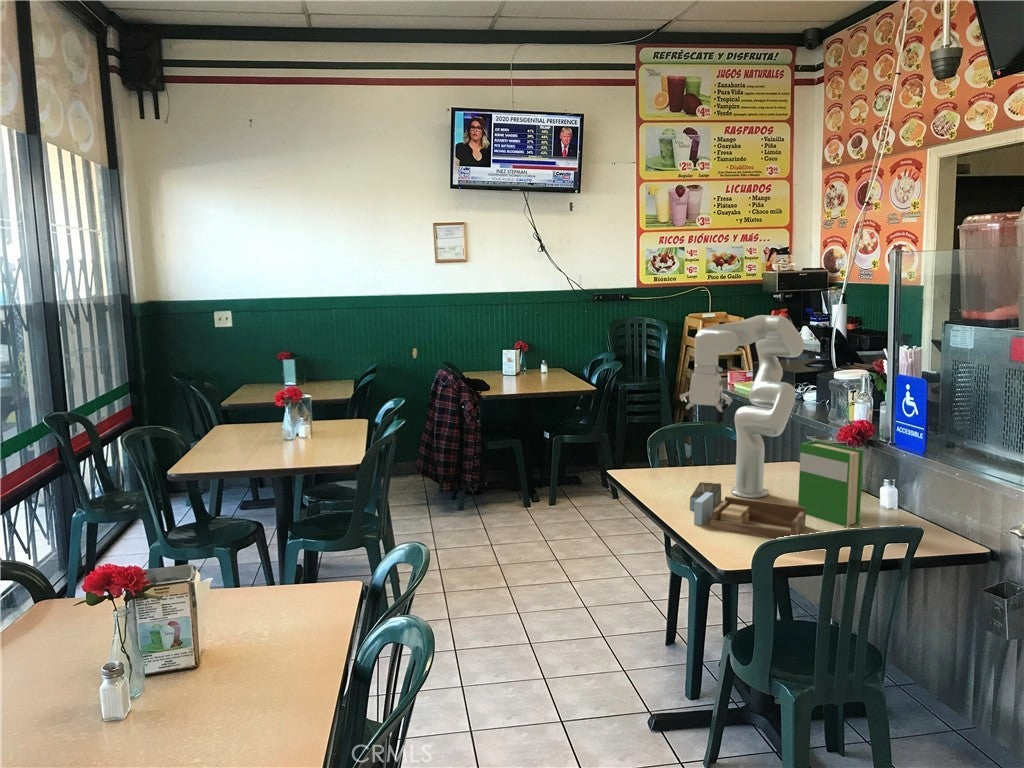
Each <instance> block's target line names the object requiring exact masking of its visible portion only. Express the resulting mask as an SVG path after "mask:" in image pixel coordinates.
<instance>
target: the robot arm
mask: <svg viewBox="0 0 1024 768" xmlns="http://www.w3.org/2000/svg"><path fill="white" fill-rule="evenodd" d="M753 343H755V348H756V353H757V356H758V363H759V366H758V370H757V373H756V375H755V377H754V380H753V382H752V385H751V387H750V390H749V393H748V399H749V402H750V403H751V404H752V405H744V406H740V407H739V408H738V409H737V410H736V411H735V414H734V425H735V431H736V456H735V486H733V487H732V488H730V492H731V493H730V494H732V495H733V496H736V495H737V496H736V497H740V498H745V499H746V498H749V499H759V498H763V497H766V496H768V493H769V491H768V489H766V488H764V477H765V476H764V474H765V473H764V472H765V471H764V470H765V469H764V468H765V442H764V440H763V438H762V436H766V437H774V438H775V437H778V436H781V434H783V432H784V430H785V428H786V427H787V423H788V422H789V421H788V420H789V419H790V416H791V413H792V411H793V408H794V406H795V402H796V390H795V389H796V388H794V386H793V385H792V384H790V382H789V383H788V382H784V381H782V378H783V375H784V372H783V371H784V370H783V367H782V365H781V363H780V361H779V360H778V357H783V358H797V357H800V355H801V354H802V353H803V352H804V348H805V343H804V339H803V337H802V335H801V333H800V332H799V330H797V328H796V327H795V325H794V324H793V322H792V321H791V320H789V319H788V318H787V317H785V316H782V315H771V314H770V315H769V314H767V315H765V314H760V315H754V316H752V317H749V318H746V319H743V320H740V321H734V322H728V323H727V322H726V323H721V324H715V325H709V326H706V327H704V328H701V329H700V330H699V331H698V332H697V333H696V334H695V336H694V369H693V370H694V372H693V373H692V375H691V379H690V384H689V385H690V386H689V390H688V391H686V392H684V393H682V394H679V398H680V401H681V404H682V405H683V406H684V407H685V409H686V417H687V421H688V422H691V421H693V420H694V408H693V407H694V406H695V405H700V406H710V407H711V406H713V407H714V406H715V407H716V409H717V410H718V411H717V413H716V424H717V425H720V424H722V423H723V422H724V413H725V412H724V411H725V410H727V408H729V406H730V405H731V403H732V402H733V398H732V397H730V396H729V395H727V394H725V393H723V383H722V375H721V374H719V373H720V372H721V373H723V367H720V366H719V354H726V355H727V354H731V353H733V352H735V351H736V350H737V348H739V347H742V346H743V347H744V346H748V345H751V344H753ZM686 397H688V400H687V399H686ZM723 399H724V400H725V402H724V403H725V404H724V405H723V404H722V403H723V401H724V400H723Z"/></svg>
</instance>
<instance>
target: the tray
mask: <svg viewBox="0 0 1024 768" xmlns="http://www.w3.org/2000/svg"><path fill="white" fill-rule="evenodd" d="M730 504H736V505H743V506H750V507H749V521H748V522H747V523H746V524H740V523H734V522H727V521H720V519H721V512H722V511H723V510H724V509H726V508H727V507H728V506H729V505H730ZM806 516H807V515H806V507H801V506H798V505H793V504H787V503H786V504H785V503H777V502H769V501H761V500H755V499H750V498H749V499H746V498H743V497H740V498H739V497H735V496H734V497H733V496H727V495H726V496H724V500H723V502H720V504H718V505H717V506H716V508H715V509H714V510H713V511H712V516H711V519H710V529H713V530H719V531H720V530H721V531H725V532H731V533H732V532H733V533H738V534H744V535H745V534H747V535H752V536H756V537H764V538H771V539H776V538H778V537H784V536H790V535H797V534H799V535H800V534H801V532H802V531H803V529H804V528H805V527H806Z"/></svg>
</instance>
